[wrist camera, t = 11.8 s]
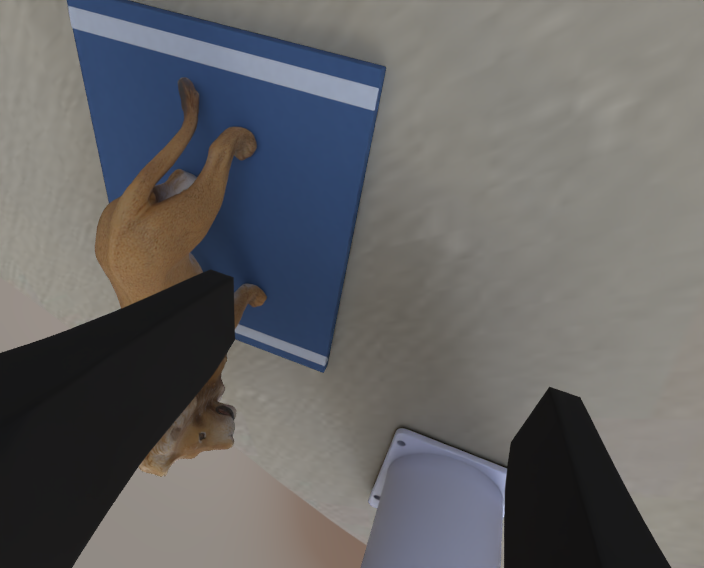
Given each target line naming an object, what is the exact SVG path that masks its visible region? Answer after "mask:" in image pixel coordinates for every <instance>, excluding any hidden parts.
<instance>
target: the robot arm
mask: <svg viewBox="0 0 704 568" xmlns="http://www.w3.org/2000/svg"><path fill="white" fill-rule="evenodd" d="M234 340H235V315H234V277H231V276H228V275H225V274H223V273H220V272H217V271H214V270H211V269H210V270H208V271H205V272H203V273H200V274H198V275H196V276H193V277H191V278H189V279H187V280H184V281H182V282H180V283H178V284H176V285H173V286H171V287H169V288H167V289H165V290H162V291H160V292H158V293H156V294H153V295H151V296H149V297H147V298H144V299H142V300H140V301H137V302H135V303H133V304H131V305H128V306H126V307H124V308H122V309H119V310H117V311H115V312H112V313H109V314H107V315H104V316H102V317H99V318H97V319H94V320H92V321H89V322H87V323H84V324H82V325H79V326H77V327H74V328H72V329H69V330H67V331H64V332H61V333H59V334H56V335H53V336H50V337H47V338H45V339H42V340H39V341H36V342H33V343H30V344H27V345H24V346H21V347H17V348H14V349H11V350H8V351H5V352H2V353H0V568H72V567H73V565H74V564H75V562H76V560H77V559H78V557H79V555H80V554H81V552H82V551H83V549H84V548H85V546H86V544H87V543H88V541H89V540H90V538H91V537H92V535H93V534H94V532H95V531H96V529H97V527H98V526H99V524H100V523H101V521H102V520H103V518H104V517H105V515H106V514H107V512H108V511H109V509H110V508H111V506H112V505H113V503H114V502H115V500H116V499H117V497H118V496H119V494H120V493H121V491H122V490H123V488H124V487H125V485H126V484H127V483H128V481H129V480H130V478H131V477H132V475H133V474H134V472H135V471H136V469H137V468H138V467H139V465H140V464H141V463H142V461H143V460H144V459H145V458H146V456H147V455H148V454H149V452H150V451H151V450H152V449H153V447H154V446H155V445H156V444H157V443H158V441H159V440H160V439H161V438H162V436H163V435H164V434H165V433H166V432H167V430H168V429H169V428H170V427H171V426H172V424H173V423H174V422H175V421H176V420H177V418H178V417H179V416H180V415H181V413H182V412H183V411H184V410H185V409H186V407H187V406H188V405H189V404H190V403H191V401H192V400H193V399H194V398H195V396H196V395H197V394H198V393H199V392H200V390H201V389H202V388H203V387H204V385H205V384H206V383H207V382H208V380H209V379H210V378H211V377H212V375H213V374H214V372H215V371H216V369H217V368H218V366H219V365H220V363H221V362H222V360H223V358H224V357H225V355H226V354H227V352H228V350H229V349H230V347H231V345H232V344H233V342H234ZM368 502H369V504H370V505H371V506H373V507H375V508H377V511H376V515H375V519H374V522H373V526H372V529H371V533H370V536H369V540H368V543H367V547H366V551H365V554H364V558H363V561H362V565H361V568H500V565H501V541H502V519H503V517H504V568H671V566H670V565H669V563H668V561H667V560H666V558H665V556H664V555H663V553H662V551H661V550H660V548H659V546H658V545H657V543H656V541H655V540H654V538H653V536H652V534H651V532H650V531H649V529H648V527H647V525H646V524H645V522H644V520H643V518H642V516H641V515H640V513H639V511H638V509H637V507H636V505H635V504H634V502H633V500H632V498H631V496H630V494H629V492H628V491H627V489H626V487H625V485H624V483H623V481H622V479H621V477H620V475H619V473H618V471H617V470H616V468H615V466H614V464H613V462H612V460H611V458H610V456H609V454H608V452H607V450H606V448H605V446H604V444H603V442H602V440H601V438H600V436H599V434H598V432H597V430H596V428H595V426H594V424H593V422H592V420H591V418H590V416H589V414H588V412H587V410H586V408H585V406H584V404H583V402H582V400H581V398H580V397H577V396H575V395H572V394H569V393H566V392H563V391H560V390H557V389H554V388H551V387H549V388H548V390H547V391H546V393H545V394H544V396H543V397H542V398H541V400H540V401H539V403H538V404H537V406H536V407H535V408H534V410H533V411H532V413H531V414H530V416H529V417H528V418H527V420H526V421H525V423H524V424H523V426H522V427H521V429H520V430H519V431H518V433H517V434H516V436H515V437H514V439H513V440H512V441H511V445H510V452H509V459H508V466H507V468H505V467H502V466H500V465H497V464H494V463H492V462H489V461H487V460H484V459H482V458H479V457H477V456H474V455H471V454H469V453H466V452H464V451H461V450H459V449H456V448H454V447H451V446H448V445H446V444H443V443H441V442H438V441H436V440H433V439H431V438H428V437H425V436H423V435H420V434H418V433H415V432H413V431H410V430H408V429H404V428H400V429H398V430H397V431H396V433H395V436H394V438H393V440H392V443H391V445H390V448H389V450H388V453H387V455H386V458H385V460H384V462H383V465H382V467H381V470H380V472H379V475H378V477H377V480H376V482H375V484H374V487H373V489H372V492H371V494H370V497H369V500H368Z"/></svg>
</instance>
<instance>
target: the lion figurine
mask: <svg viewBox="0 0 704 568" xmlns="http://www.w3.org/2000/svg"><path fill="white" fill-rule="evenodd" d="M178 90H179V95H180V98H181V107H182V110H183V113H184V121H183V124H182V127H181V129H180V130H179V131H178V133H177V134H176V135H175V136H174V137H173V138H172V140H171V141H170V142H169V143H168V144H167V145H166V146H165V147H164V149H162V150H161V151H160V152H159V153H158V154H157V155H156V156H155V157H154V158H153V159H152V160H151V161H150V162H149V163H148V164H147V165H146V166H145V167H144V168H143V169H142V170H141V171H140V173H139V174H138V175H137V176H136V178H135V179H134V180H133V182H132V183H131V184H130V185H129V186H128V187H127V189H126V190H125V192H124V193H123V195H122V196H121V197H119V198H117V199H115V200H113V201H112V202H110V203H109V204H108V205H107V207H106V208H105V209H104V211H103V213H102V214H101V217H100V219H99V223H98V226H97V233H96V242H95V254H96V258H97V260H98V262H99V264H100V266H101V267H102V269H103V270H104V272H105V274H106V275H107V277H108V278H109V280H110V282H111V284H112V285H113V287H114V290H115V292H116V294H117V297H118V300H119V302H120V306H121V309H122V308H124V307H126V306H128V305H131V304H133V303H135V302H137V301H140V300H142V299H144V298H147V297H149V296H151V295H153V294H156V293H158V292H160V291H162V290H165V289H167V288H169V287H171V286H173V285H176V284H178V283H180V282H182V281H184V280H187V279H189V278H191V277H193V276H196V275H198V274H200V273H203V271H202V269H201V267H200V265H199V263H198V262H197V260H196V259H195V257H194V256H193V255H192V254H191V253H190V252H191V251H192V250H193V249H194V248H195V247H196V246H197V245H198V244H199V243H200V242H201V241H202V239H203V238H204V237H205V235H206V234H207V232H208V230H209V229H210V227H211V225H212V223H213V221H214V220H215V218H216V216H217V214H218V212H219V210H220V208H221V205H222V202H223V198H224V194H225V189H226V185H227V180H228V175H229V170H230V167H231V163H232V160H233V157H234V156H235V157H236V158H237V159H239V160H241V161H242V160H245V159H246V158H248V157H251V156H252V155H253V153H254V152H255V150H256V149H257V143H256V140H255V137H254V135H253V134H252V132H250V131H249V130H247V129H245V128H242V127H229V128H227V129H226V130H225V131H224V132H223V133H221V134H220V135H219V137H218V138H217V139H216V140H215V141H214V142H213V143H212V144H211V146H210V147H209V151H208V157H207V160H206V164H205V166H204V167H203V169H202V171H201V173H200V174H199V176H198V177H196V176H195V175H193V174H191V173H188V172H186V171H183V170H182V169H177V170H175V171H174V172H173V173H172V174H171V175H170V176H169V178H168V180H167V181H166V182H165V183H162V184H159V185H155V184H156V183H157V182H158V181H159V180H160V179H161V178H162V177H163V176H164V175H165V174H166V173H167V172H168V170H169V169H170V168H171V167H172V166H173V165H174V163H175V162H176V161H177V159H178V158H179V156H180V155H181V154H182V152H183V151H184V149H185V148H186V146H187V145H188V143H189V141H190V140H191V138H192V136H193V134H194V132H195V130H196V128H197V122H198V113H199V93H198V92H197V91H196V89H195V87H194V85H193V83H192V82H191V81H190V80H189V79H188V78H186V77H183V78H180V79H179V80H178ZM266 299H267V296H266V294H265V293H264V292H263V290H262V289H260V288H259V287H258V286H256V285H253V284H243V285H242V286H240V287H239V288H238V290H237V291H236V292H235V293H234V315H235V329H236V327H237V326H238V324H239V322H240V320H241V317H242V314H243V312H244V310H245V308H246V306H247V304H250V305H251V306H252V307H257V306H261V305H263V304H264V301H265V300H266ZM226 361H227V355H225V357H224V358H223V360H222V362H221V363H220V365H219V366H218V368H217V369H216V371H215V372H214V374H213V375H212V377H211V378H210V379H209V380H208V382H207V383H206V384H205V385H204V387H203V388H202V389H201V390H200V392H199V393H198V394H197V395H196V396H195V398H194V399H193V400H192V401H191V403H190V404H189V405H188V406H187V407H186V409H185V410H184V411H183V412H182V413H181V415H180V416H179V417H178V418H177V420H176V421H175V422H174V423H173V424H172V426H171V427H170V428H169V429H168V430H167V432H166V433H165V434H164V435H163V436H162V438H161V439H160V440H159V441H158V443H157V444H156V445H155V446H154V447H153V449H152V450H151V451H150V452H149V454H148V455H147V456H146V458H145V459H144V460H143V461H142V463H141V464H140V465H139V468H140V470H142V471H144V472H146V473H151V474H155V475H157V476H160V477H162V476H163V475H164V476H166V475H167V472H168V469H169V468H170V466H171V465H172V464H173V463H175V462H176V461H177V460H179V459H185V458H186V459H192V458H195V457H196V456H197V455H198V454H199V453H200V452H203V451H210V450H221V449H229V448H231V447H232V446H233V444H234V439H233V434H234V430H235V423H234V419H235V417H236V409H235V407H233V406H231V405H226V404H222V403H220V402H219V401H220V399H221V398H222V395H223V393H224V391H225V387H224V385H223V382H222V379H221V373H222V370H223V368H224V365H225V363H226Z"/></svg>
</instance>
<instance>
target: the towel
mask: <svg viewBox="0 0 704 568" xmlns="http://www.w3.org/2000/svg"><path fill="white" fill-rule="evenodd" d="M67 4H68V11H69V16H70V21H71V25H72V28H73V33H74V37H75V42H76V47H77V52H78V57H79V61H80V66H81V71H82V76H83V81H84V85H85V90H86V95H87V100H88V105H89V109H90V114H91V119H92V124H93V129H94V133H95V138H96V143H97V148H98V153H99V157H100V162H101V167H102V172H103V177H104V181H105V186H106V191H107V196H108V201H109V203H110V202H112V201H113V200H115V199H117V198H119V197H121V196H122V195H123V193H124V192H125V190H126V189H127V187H128V186H129V185H130V184H131V183H132V182H133V180H134V179H135V178H136V176H137V175H138V174H139V173H140V171H141V170H142V169H143V168H144V167H145V166H146V165H147V164H148V163H149V162H150V161H151V160H152V159H153V158H154V157H155V156H156V155H157V154H158V153H159V152H160V151H161V150H162V149H164V147H165V146H166V145H167V144H168V143H169V142H170V141H171V140H172V138H173V137H174V136H175V135H176V134H177V133H178V131H179V130H180V129H181V127H182V124H183V121H184V113H183V110H182V107H181V98H180V95H179V90H178V80H179V79H180V78H183V77H186V78H188V79H189V80H190V81H191V82H192V83H193V85H194V87H195V89H196V91H197V92H198V93H199V113H198V122H197V128H196V130H195V132H194V134H193V136H192V138H191V140H190V141H189V143H188V145H187V146H186V148H185V149H184V151H183V152H182V154H181V155H180V156H179V158H178V159H177V161H176V162H175V163H174V165H173V166H172V167H171V168H170V169H169V170H168V172H167V173H166V174H165V175H164V176H163V177H162V178H161V179H160V180H159V181H158V182H157V183H156V184H155V185H159V184H162V183H165V182H166V181H167V180H168V178H169V176H170V175H171V174H172V173H173V172H174V171H175V170H177V169H182V170H183V171H186V172H188V173H191V174H193V175H195V176H196V177H198V176H199V174H200V173H201V171H202V169H203V167H204V166H205V164H206V160H207V157H208V151H209V147H210V146H211V144H212V143H213V142H214V141H215V140H216V139H217V138H218V137H219V135H220V134H221V133H223V132H224V131H225V130H226V129H227V128H229V127H242V128H245V129H247V130H249V131H250V132H252V134H253V135H254V137H255V140H256V143H257V149H256V150H255V152H254V153H253V155H252V156H251V157H248V158H246V159H245V160H242V161H241V160H239V159H237V158H236V157H235V156H234V157H233V160H232V163H231V167H230V170H229V175H228V180H227V185H226V189H225V194H224V198H223V202H222V205H221V208H220V210H219V212H218V214H217V216H216V218H215V220H214V221H213V223H212V225H211V227H210V229H209V230H208V232H207V234H206V235H205V237H204V238H203V239H202V241H201V242H200V243H199V244H198V245H197V246H196V247H195V248H194V249H193V250H192V251H191V252H190V253H191V254H192V255H193V256H194V257H195V259H196V260H197V262H198V263H199V265H200V267H201V269H202V271H203V272H205V271H208V270H210V269H211V270H214V271H217V272H220V273H223V274H225V275H228V276H231V277H234V293H235V292H236V291H237V290H238V288H239V287H240V286H242V285H243V284H253V285H256V286H258V287H259V288H260V289H262V290H263V292H264V293H265V294H266V296H267V299H266V300H265V301H264V304H263V305H261V306H257V307H252V306H251V305H250V304H247V306H246V308H245V310H244V312H243V314H242V317H241V320H240V322H239V324H238V326H237V327H236V329H235V339H236V340H239V341H241V342H244V343H247V344H249V345H252V346H254V347H257V348H260V349H262V350H265V351H268V352H270V353H273V354H275V355H278V356H281V357H283V358H286V359H288V360H291V361H294V362H296V363H299V364H302V365H304V366H307V367H309V368H312V369H315V370H317V371H320V372H322V373H324V371H325V369H326V367H327V364H328V359H329V354H330V349H331V344H332V339H333V334H334V329H335V324H336V319H337V314H338V309H339V304H340V298H341V293H342V288H343V283H344V278H345V273H346V268H347V263H348V258H349V253H350V248H351V243H352V238H353V233H354V228H355V223H356V218H357V212H358V207H359V202H360V197H361V192H362V187H363V182H364V177H365V172H366V167H367V162H368V157H369V152H370V147H371V142H372V137H373V132H374V127H375V121H376V116H377V111H378V106H379V101H380V96H381V91H382V86H383V81H384V76H385V71H386V67H385V66H382V65H378V64H374V63H370V62H366V61H362V60H358V59H354V58H350V57H346V56H343V55H339V54H335V53H331V52H327V51H323V50H319V49H315V48H311V47H308V46H304V45H300V44H296V43H292V42H288V41H284V40H280V39H276V38H272V37H269V36H265V35H261V34H257V33H253V32H249V31H245V30H241V29H237V28H234V27H230V26H226V25H222V24H218V23H214V22H210V21H206V20H202V19H198V18H195V17H191V16H187V15H183V14H179V13H175V12H171V11H167V10H163V9H160V8H156V7H152V6H148V5H144V4H140V3H136V2H132V1H128V0H67Z"/></svg>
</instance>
